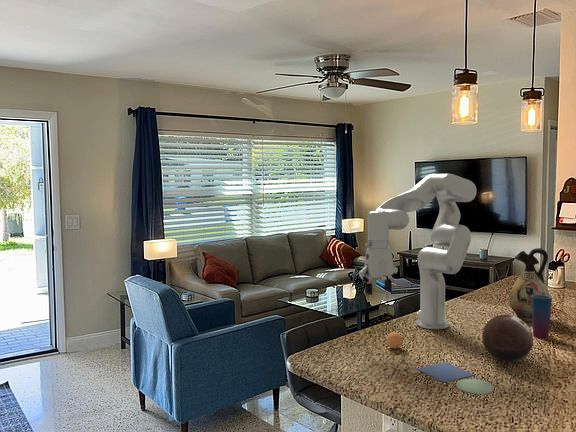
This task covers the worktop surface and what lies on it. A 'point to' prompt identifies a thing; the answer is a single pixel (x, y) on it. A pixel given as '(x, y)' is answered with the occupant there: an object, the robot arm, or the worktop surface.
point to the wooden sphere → (507, 338)
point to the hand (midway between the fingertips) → (378, 292)
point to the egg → (394, 340)
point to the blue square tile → (445, 372)
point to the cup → (541, 315)
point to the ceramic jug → (528, 284)
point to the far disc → (475, 386)
